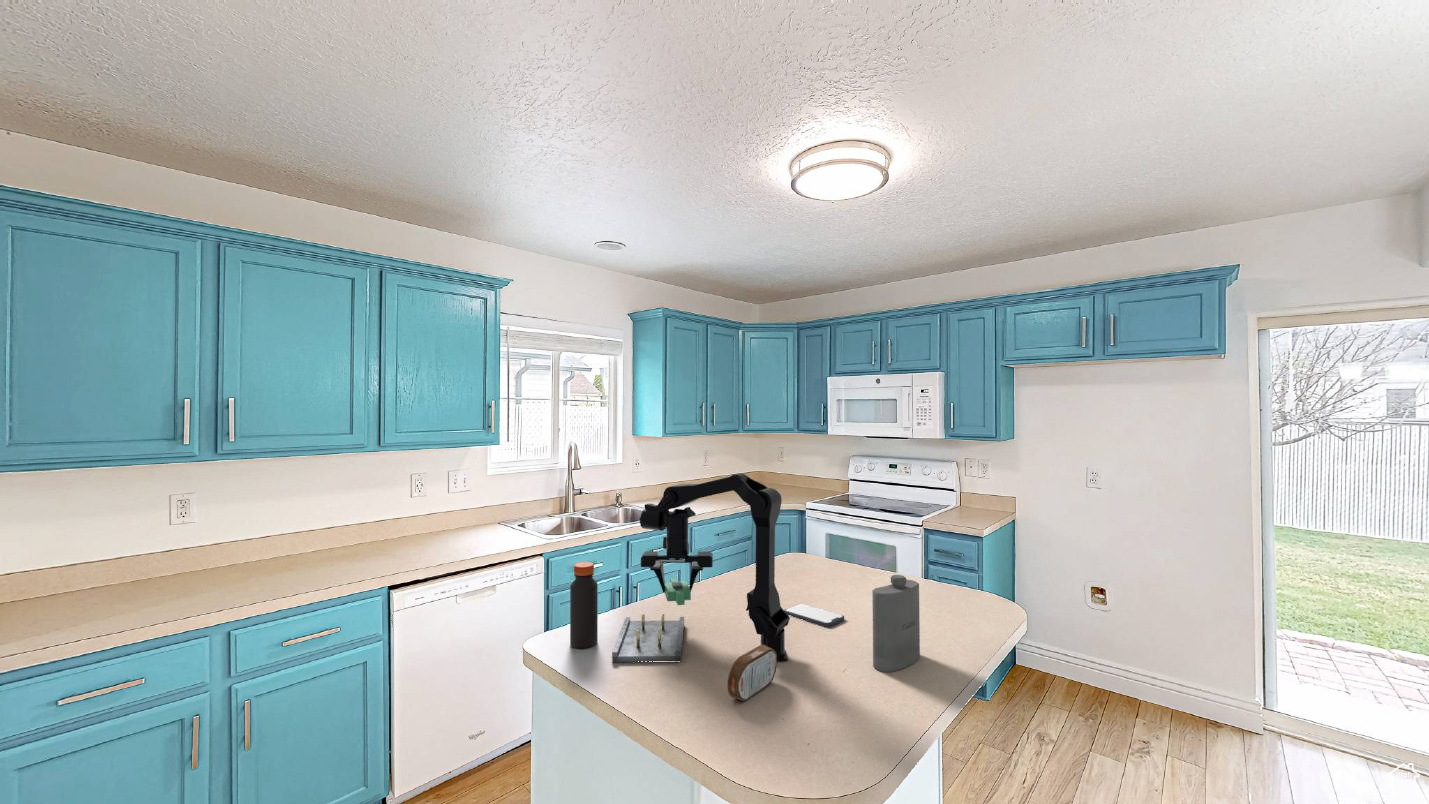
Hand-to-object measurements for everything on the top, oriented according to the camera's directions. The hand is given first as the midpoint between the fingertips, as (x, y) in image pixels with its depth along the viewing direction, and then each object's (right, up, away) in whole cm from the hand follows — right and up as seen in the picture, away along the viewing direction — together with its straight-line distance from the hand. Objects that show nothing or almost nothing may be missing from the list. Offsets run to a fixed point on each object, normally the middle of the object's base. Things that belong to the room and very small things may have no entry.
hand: (677, 591), depth 146 cm
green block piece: (0, -1, 0) cm, 1 cm away
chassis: (-6, -11, -5) cm, 14 cm away
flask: (+53, -11, -16) cm, 56 cm away
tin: (+18, -11, -30) cm, 37 cm away
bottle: (-23, -11, -6) cm, 26 cm away
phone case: (+38, -12, +12) cm, 42 cm away
